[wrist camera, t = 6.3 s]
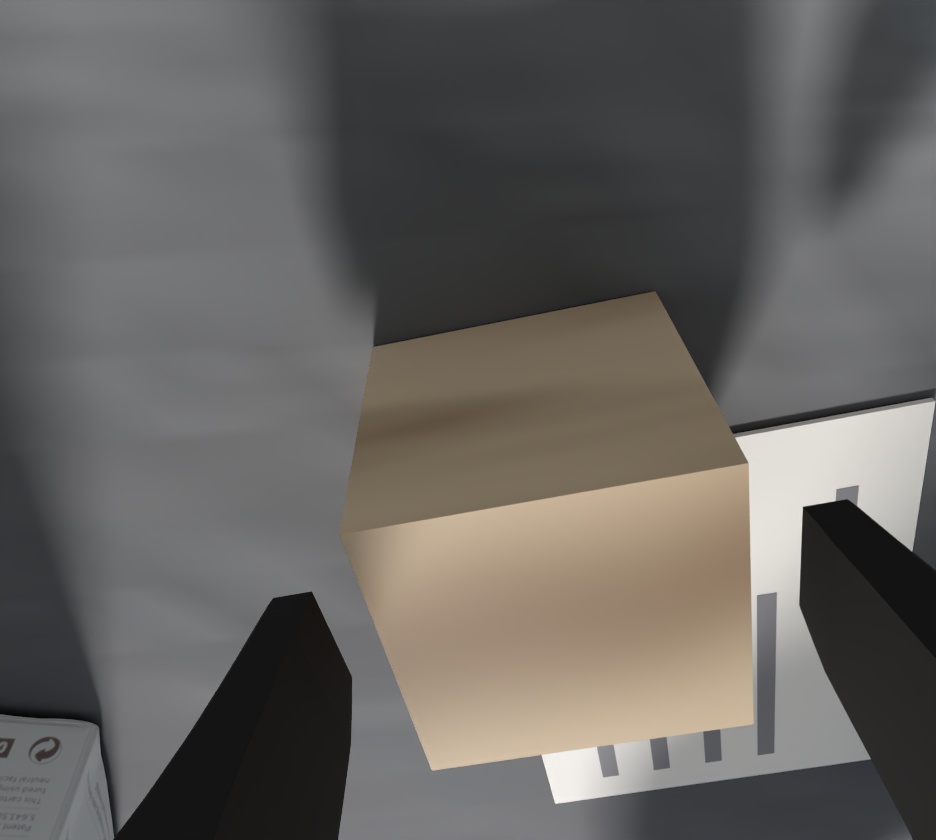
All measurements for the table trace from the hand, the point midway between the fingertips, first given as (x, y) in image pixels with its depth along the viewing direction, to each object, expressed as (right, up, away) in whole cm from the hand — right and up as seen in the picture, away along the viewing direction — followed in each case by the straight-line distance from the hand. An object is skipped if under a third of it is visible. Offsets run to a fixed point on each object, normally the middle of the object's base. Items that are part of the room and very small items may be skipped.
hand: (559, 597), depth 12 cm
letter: (+4, -3, +7) cm, 9 cm away
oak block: (0, +2, +3) cm, 4 cm away
